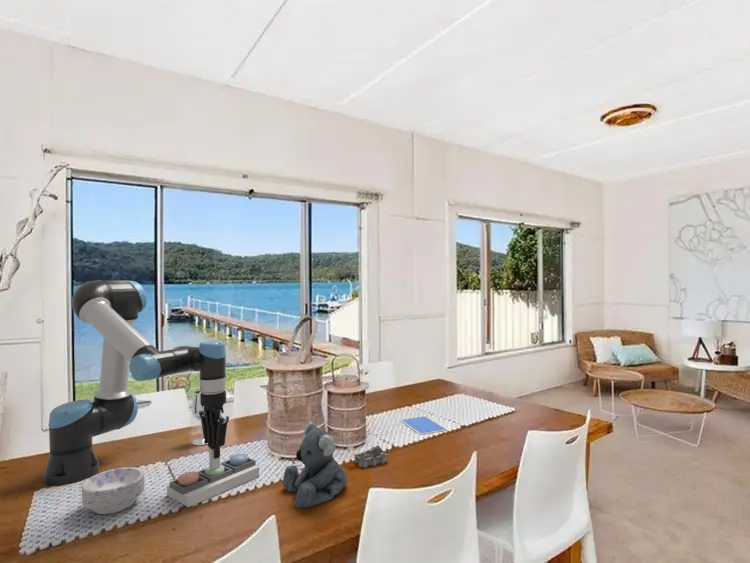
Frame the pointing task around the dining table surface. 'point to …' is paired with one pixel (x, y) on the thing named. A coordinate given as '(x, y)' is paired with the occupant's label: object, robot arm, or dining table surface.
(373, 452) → the egg carton
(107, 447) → the dining table surface
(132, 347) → the robot arm
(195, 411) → the wineglass
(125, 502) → the paper bowls
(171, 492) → the console
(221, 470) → the button sage
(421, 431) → the tablet computer
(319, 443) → the koala plush
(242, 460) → the button slate
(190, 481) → the button terracotta
